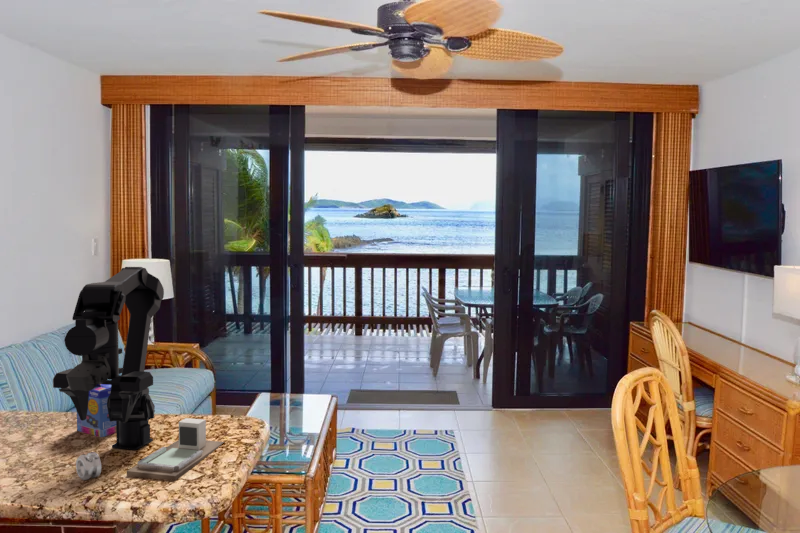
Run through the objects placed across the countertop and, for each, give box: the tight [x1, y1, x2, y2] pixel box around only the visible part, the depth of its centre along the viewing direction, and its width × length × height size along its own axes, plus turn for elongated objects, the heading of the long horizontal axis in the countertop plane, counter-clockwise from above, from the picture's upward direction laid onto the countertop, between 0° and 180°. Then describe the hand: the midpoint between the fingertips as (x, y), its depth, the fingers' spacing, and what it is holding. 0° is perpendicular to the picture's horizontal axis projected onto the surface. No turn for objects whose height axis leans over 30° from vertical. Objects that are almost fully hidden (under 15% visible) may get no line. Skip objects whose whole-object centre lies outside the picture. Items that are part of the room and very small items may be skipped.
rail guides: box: [137, 446, 202, 472], centre depth 128 cm, size 10×10×1 cm
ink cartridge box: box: [75, 384, 116, 438], centre depth 148 cm, size 10×6×14 cm, turn 61°
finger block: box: [178, 417, 207, 450], centre depth 136 cm, size 5×3×6 cm
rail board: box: [126, 439, 225, 481], centre depth 131 cm, size 11×20×1 cm, turn 168°
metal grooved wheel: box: [75, 451, 102, 481], centre depth 122 cm, size 5×3×5 cm, turn 52°
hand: (104, 421), depth 123 cm, fingers open, 9 cm apart
